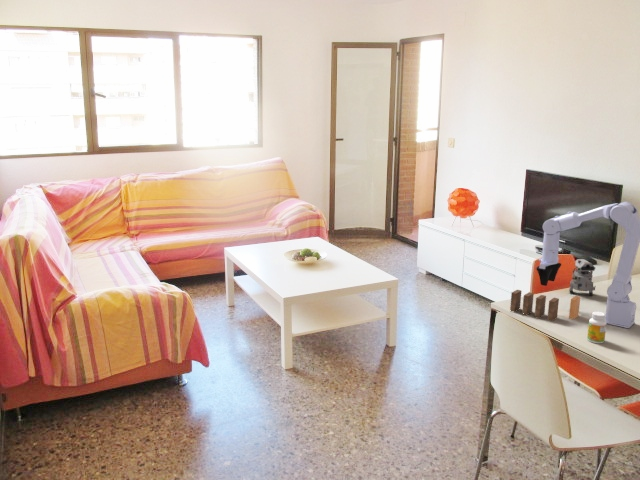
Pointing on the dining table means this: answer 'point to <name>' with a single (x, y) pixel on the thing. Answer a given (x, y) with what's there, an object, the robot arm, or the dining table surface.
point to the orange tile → (574, 307)
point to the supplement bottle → (597, 328)
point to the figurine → (582, 277)
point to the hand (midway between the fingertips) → (547, 283)
